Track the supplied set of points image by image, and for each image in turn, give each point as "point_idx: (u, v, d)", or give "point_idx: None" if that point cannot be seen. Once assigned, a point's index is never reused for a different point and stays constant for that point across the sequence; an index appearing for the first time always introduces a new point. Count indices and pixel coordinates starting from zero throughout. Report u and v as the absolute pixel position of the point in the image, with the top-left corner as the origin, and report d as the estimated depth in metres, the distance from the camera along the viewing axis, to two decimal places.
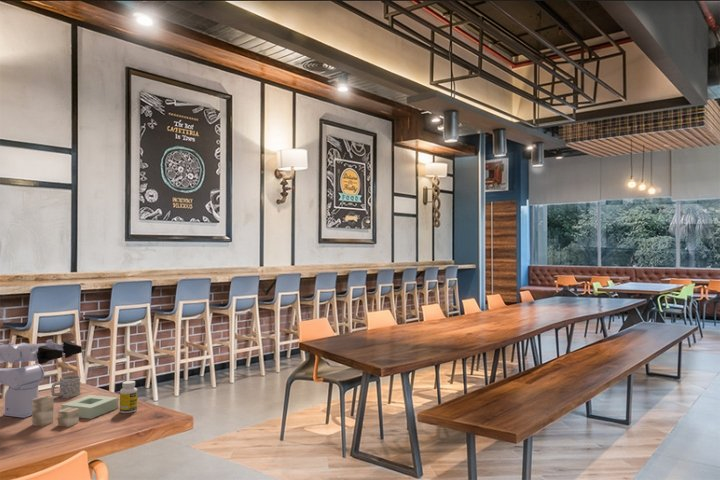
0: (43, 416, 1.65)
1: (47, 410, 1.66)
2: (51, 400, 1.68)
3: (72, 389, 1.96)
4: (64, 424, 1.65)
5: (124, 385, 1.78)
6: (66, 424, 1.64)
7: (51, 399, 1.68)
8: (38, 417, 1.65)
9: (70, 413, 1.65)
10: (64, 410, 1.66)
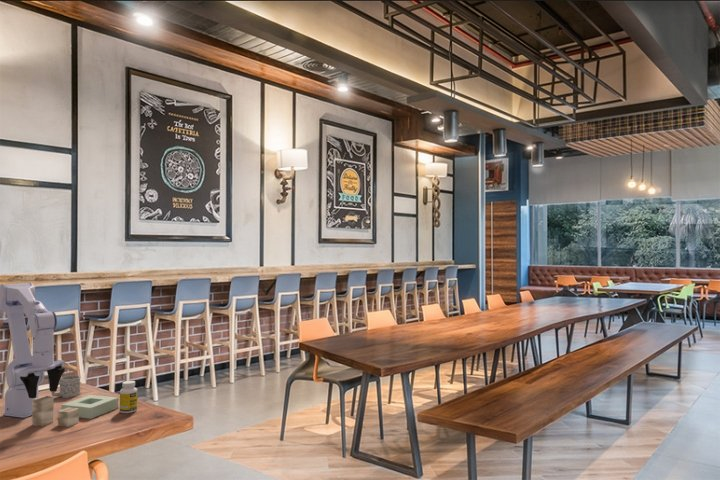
0: (43, 416, 1.65)
1: (47, 410, 1.66)
2: (51, 400, 1.68)
3: (72, 389, 1.96)
4: (64, 424, 1.65)
5: (124, 385, 1.78)
6: (66, 424, 1.64)
7: (51, 399, 1.68)
8: (38, 417, 1.65)
9: (70, 413, 1.65)
10: (64, 410, 1.66)
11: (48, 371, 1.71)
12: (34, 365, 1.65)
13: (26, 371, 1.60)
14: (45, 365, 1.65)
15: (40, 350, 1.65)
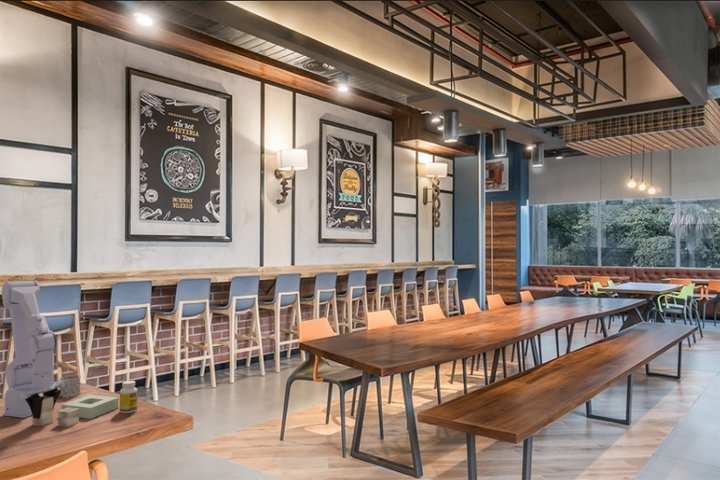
0: (43, 416, 1.65)
1: (47, 409, 1.66)
2: (51, 400, 1.68)
3: (72, 389, 1.96)
4: (64, 424, 1.65)
5: (124, 385, 1.78)
6: (66, 424, 1.64)
7: (51, 399, 1.68)
8: None
9: (70, 413, 1.65)
10: (64, 410, 1.66)
11: (44, 393, 1.70)
12: (34, 387, 1.65)
13: (26, 393, 1.60)
14: (45, 387, 1.65)
15: (40, 372, 1.64)
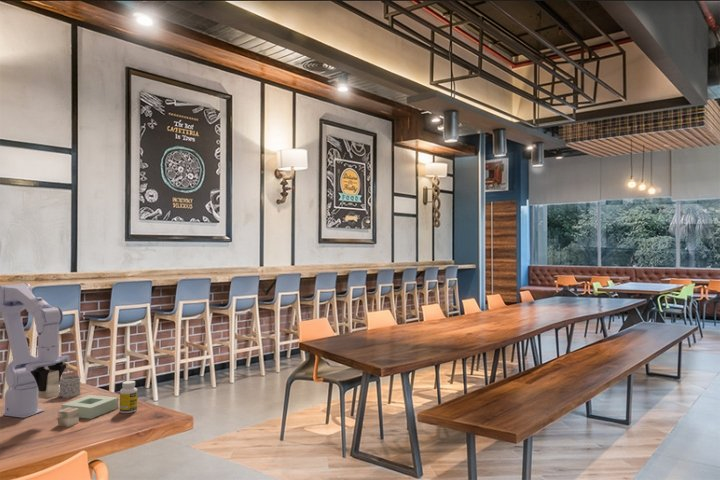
0: (49, 389, 1.66)
1: (52, 383, 1.67)
2: (57, 374, 1.69)
3: (72, 389, 1.96)
4: (64, 424, 1.65)
5: (124, 385, 1.78)
6: (66, 424, 1.64)
7: (56, 373, 1.69)
8: None
9: (70, 413, 1.65)
10: (64, 410, 1.66)
11: (49, 367, 1.71)
12: (40, 360, 1.66)
13: (32, 366, 1.62)
14: (50, 360, 1.66)
15: (47, 345, 1.66)
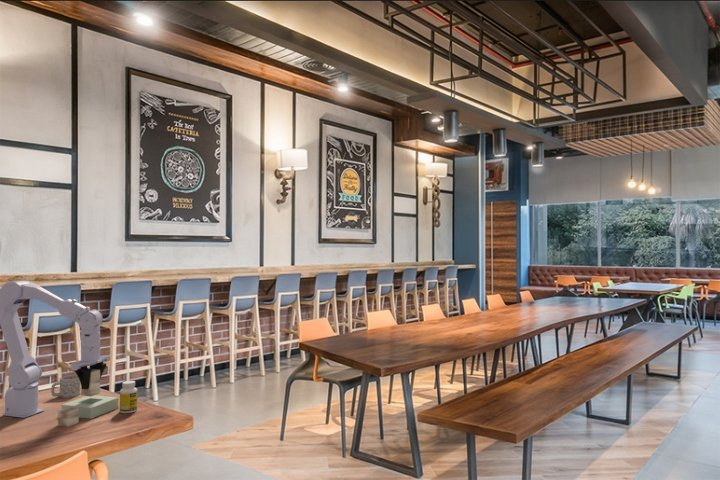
0: (92, 387, 1.77)
1: (94, 381, 1.78)
2: (98, 373, 1.80)
3: (72, 389, 1.96)
4: (64, 424, 1.65)
5: (124, 385, 1.78)
6: (66, 424, 1.64)
7: (98, 372, 1.80)
8: None
9: (70, 413, 1.65)
10: (64, 410, 1.66)
11: (91, 366, 1.82)
12: (83, 360, 1.77)
13: (77, 365, 1.72)
14: (93, 360, 1.77)
15: (96, 345, 1.78)
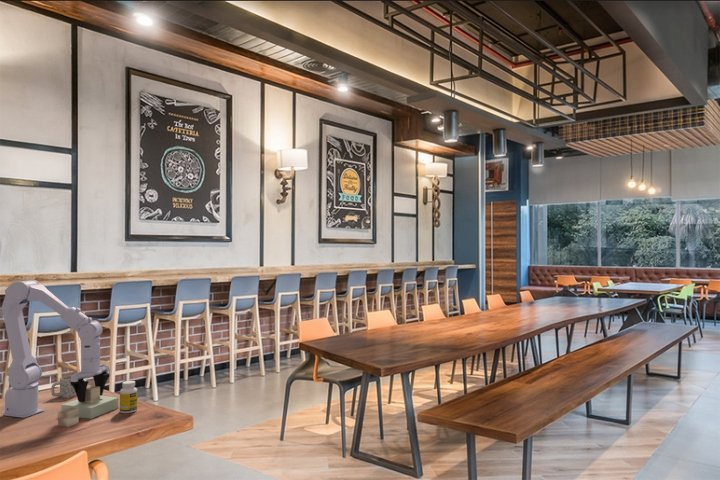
0: None
1: (94, 398, 1.78)
2: (98, 390, 1.80)
3: (72, 389, 1.96)
4: (64, 424, 1.65)
5: (124, 385, 1.78)
6: (66, 424, 1.64)
7: (98, 389, 1.80)
8: None
9: (70, 413, 1.65)
10: (64, 410, 1.66)
11: (94, 376, 1.83)
12: (83, 371, 1.77)
13: (76, 377, 1.72)
14: (93, 371, 1.77)
15: (96, 356, 1.78)
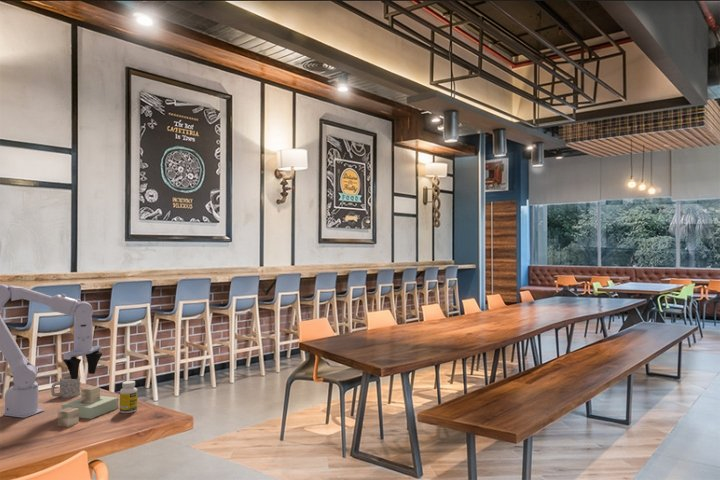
0: None
1: (94, 398, 1.78)
2: (98, 390, 1.80)
3: (72, 389, 1.96)
4: (64, 424, 1.65)
5: (124, 385, 1.78)
6: (66, 424, 1.64)
7: (98, 389, 1.80)
8: None
9: (70, 413, 1.65)
10: (64, 410, 1.66)
11: (87, 355, 1.89)
12: (76, 349, 1.82)
13: (69, 354, 1.78)
14: (85, 349, 1.83)
15: (91, 335, 1.85)
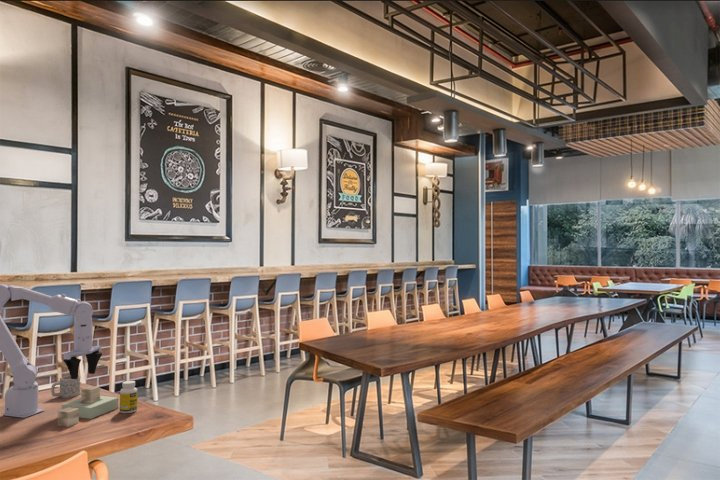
0: None
1: (94, 398, 1.78)
2: (98, 390, 1.80)
3: (72, 389, 1.96)
4: (64, 424, 1.65)
5: (124, 385, 1.78)
6: (66, 424, 1.64)
7: (98, 389, 1.80)
8: None
9: (70, 413, 1.65)
10: (64, 410, 1.66)
11: (87, 355, 1.89)
12: (76, 349, 1.82)
13: (69, 354, 1.78)
14: (85, 349, 1.83)
15: (91, 335, 1.85)
